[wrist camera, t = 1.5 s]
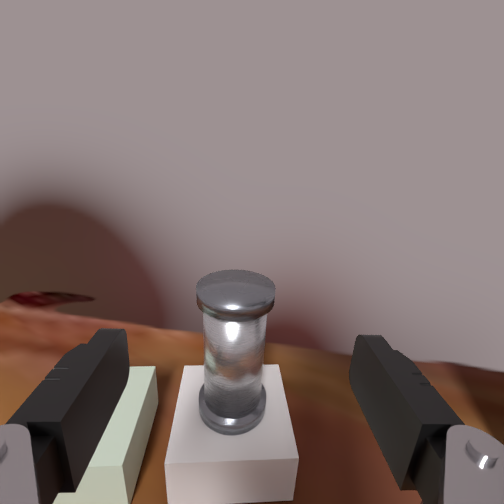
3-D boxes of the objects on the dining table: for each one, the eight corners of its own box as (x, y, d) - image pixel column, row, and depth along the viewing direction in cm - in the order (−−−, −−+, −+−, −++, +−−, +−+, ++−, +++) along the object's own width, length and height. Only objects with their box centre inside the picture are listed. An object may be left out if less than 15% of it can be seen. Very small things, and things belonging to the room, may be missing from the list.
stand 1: (158, 402, 32) (155, 366, 30) (129, 509, 23) (122, 465, 21) (63, 404, 31) (54, 367, 29) (-8, 516, 22) (-27, 471, 20)
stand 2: (274, 399, 33) (278, 364, 31) (292, 500, 24) (298, 458, 22) (186, 401, 32) (184, 365, 30) (168, 507, 23) (164, 463, 21)
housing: (261, 378, 29) (269, 270, 25) (269, 434, 24) (281, 306, 20) (202, 380, 29) (200, 269, 25) (195, 436, 23) (191, 305, 19)
